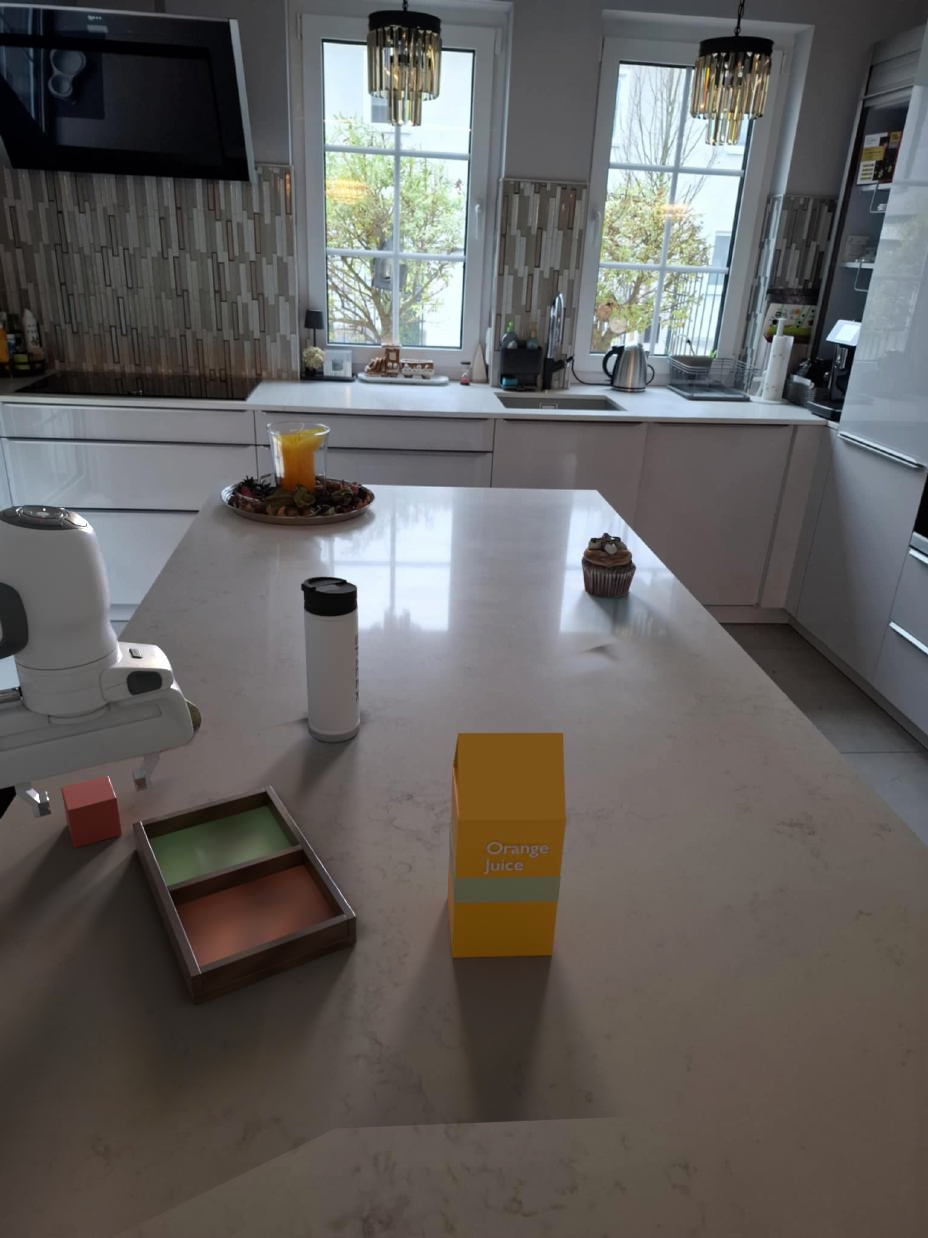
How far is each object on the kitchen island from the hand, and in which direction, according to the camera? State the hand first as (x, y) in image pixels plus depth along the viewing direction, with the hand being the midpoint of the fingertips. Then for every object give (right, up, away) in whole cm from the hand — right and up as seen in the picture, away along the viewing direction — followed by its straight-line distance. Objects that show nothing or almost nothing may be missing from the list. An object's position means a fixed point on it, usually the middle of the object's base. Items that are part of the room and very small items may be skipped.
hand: (94, 800), depth 87 cm
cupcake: (+62, +23, +69) cm, 96 cm away
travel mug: (+21, +4, +21) cm, 30 cm away
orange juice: (+40, -10, -9) cm, 42 cm away
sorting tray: (+16, -7, -6) cm, 19 cm away
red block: (-1, -3, +2) cm, 4 cm away
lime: (+3, +4, +19) cm, 19 cm away
